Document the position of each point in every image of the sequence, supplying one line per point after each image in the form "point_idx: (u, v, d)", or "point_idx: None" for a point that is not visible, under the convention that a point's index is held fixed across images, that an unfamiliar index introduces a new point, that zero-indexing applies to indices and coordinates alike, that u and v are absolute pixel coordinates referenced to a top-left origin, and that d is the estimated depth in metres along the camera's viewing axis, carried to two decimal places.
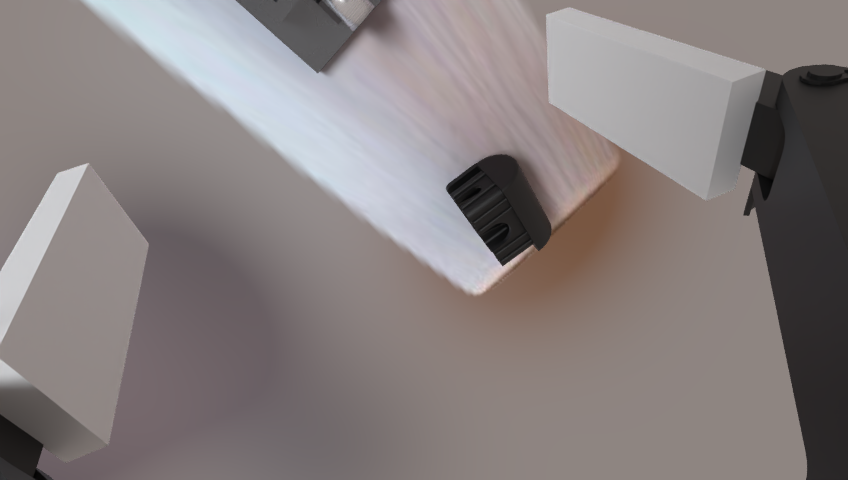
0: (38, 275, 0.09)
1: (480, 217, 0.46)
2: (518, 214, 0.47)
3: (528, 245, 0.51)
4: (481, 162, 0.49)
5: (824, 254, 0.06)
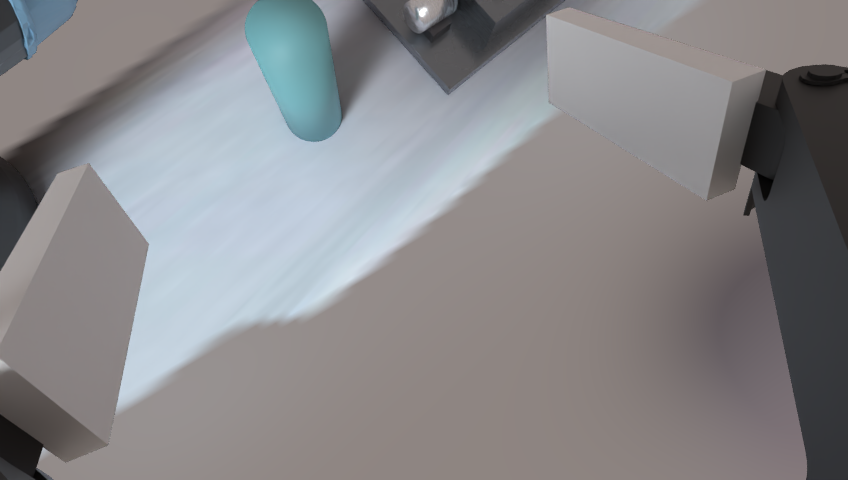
0: (38, 275, 0.09)
1: None
2: None
3: None
4: None
5: (823, 255, 0.06)
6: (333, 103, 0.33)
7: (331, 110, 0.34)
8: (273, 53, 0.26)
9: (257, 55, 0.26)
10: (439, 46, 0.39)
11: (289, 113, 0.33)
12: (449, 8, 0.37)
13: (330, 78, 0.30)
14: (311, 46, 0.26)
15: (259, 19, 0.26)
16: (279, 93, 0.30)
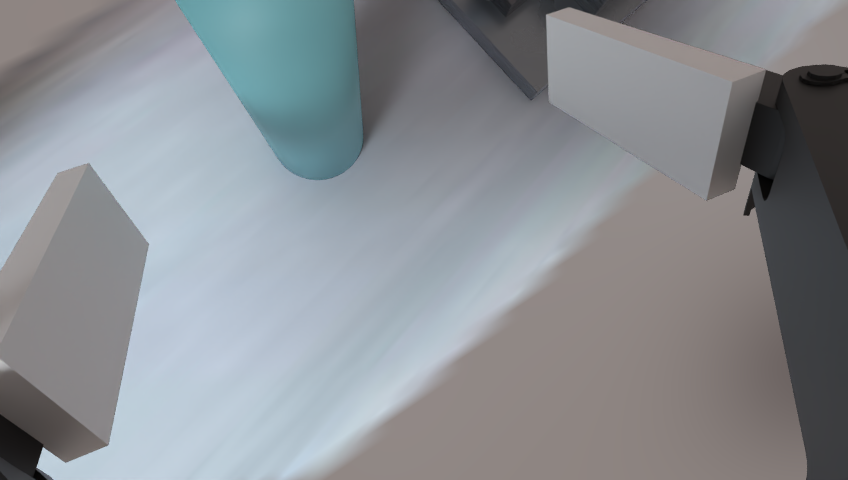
0: (38, 275, 0.09)
1: None
2: None
3: None
4: None
5: (825, 255, 0.06)
6: (353, 119, 0.19)
7: (350, 132, 0.19)
8: (228, 14, 0.11)
9: (191, 20, 0.11)
10: (518, 22, 0.24)
11: (275, 139, 0.18)
12: None
13: (351, 73, 0.15)
14: None
15: None
16: (252, 104, 0.15)
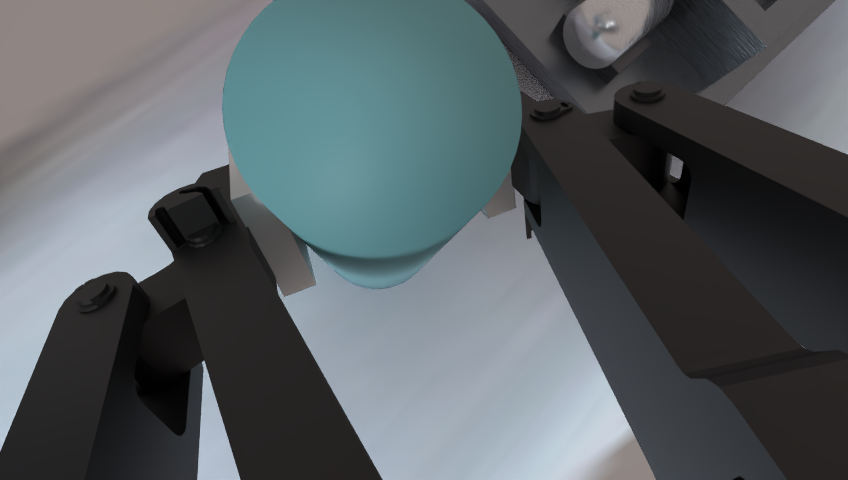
0: None
1: None
2: None
3: None
4: None
5: (604, 282, 0.07)
6: None
7: None
8: (331, 201, 0.07)
9: (270, 209, 0.07)
10: None
11: (342, 273, 0.14)
12: (659, 17, 0.18)
13: None
14: (469, 168, 0.07)
15: (276, 70, 0.07)
16: (328, 259, 0.11)
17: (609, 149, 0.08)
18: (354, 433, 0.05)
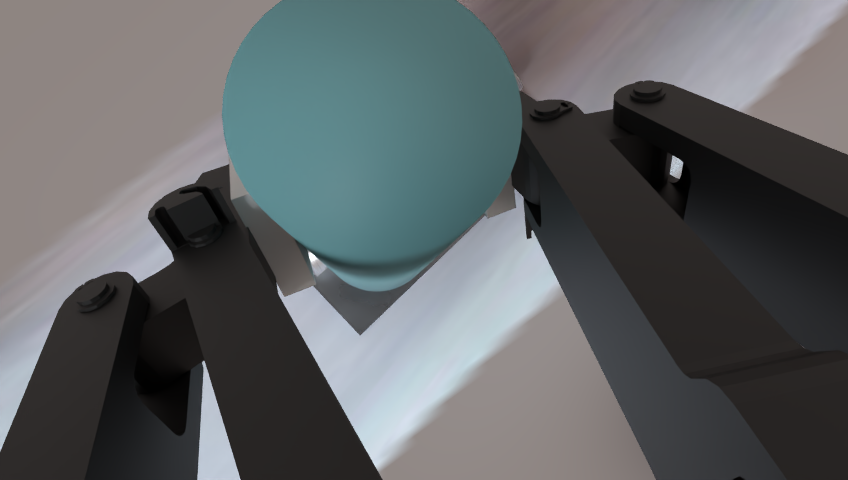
0: None
1: None
2: None
3: None
4: None
5: (604, 282, 0.07)
6: None
7: None
8: (331, 208, 0.07)
9: (270, 216, 0.07)
10: None
11: (342, 276, 0.14)
12: None
13: None
14: (469, 175, 0.07)
15: (276, 77, 0.07)
16: (328, 264, 0.11)
17: (609, 149, 0.08)
18: (354, 433, 0.05)
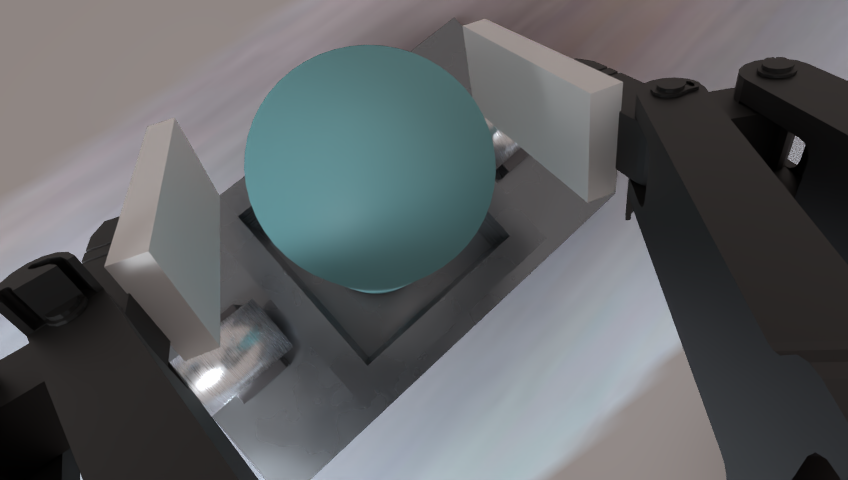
0: (160, 199, 0.10)
1: None
2: None
3: None
4: None
5: (703, 261, 0.07)
6: None
7: None
8: (335, 247, 0.08)
9: (284, 253, 0.08)
10: (267, 405, 0.19)
11: None
12: (270, 360, 0.17)
13: None
14: (450, 218, 0.08)
15: (288, 135, 0.08)
16: None
17: (732, 132, 0.08)
18: None
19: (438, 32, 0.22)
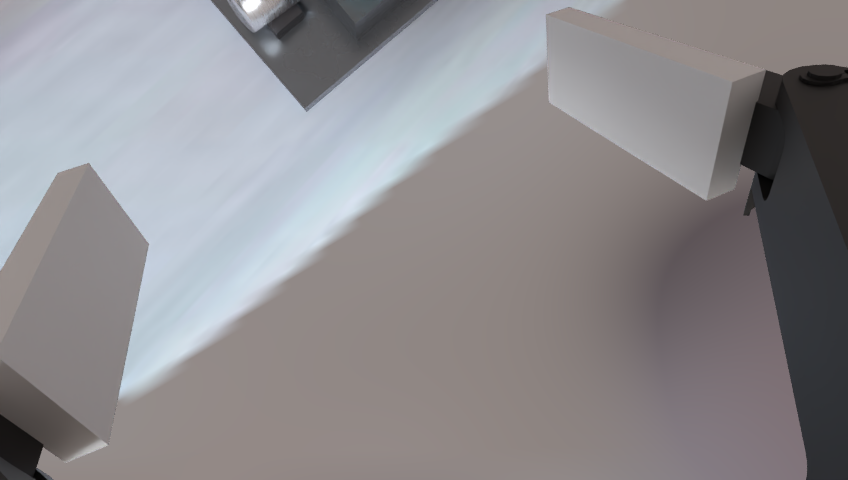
0: (38, 275, 0.09)
1: None
2: None
3: None
4: None
5: (824, 255, 0.06)
6: None
7: None
8: None
9: None
10: (289, 45, 0.28)
11: None
12: None
13: None
14: None
15: None
16: None
17: None
18: None
19: None
